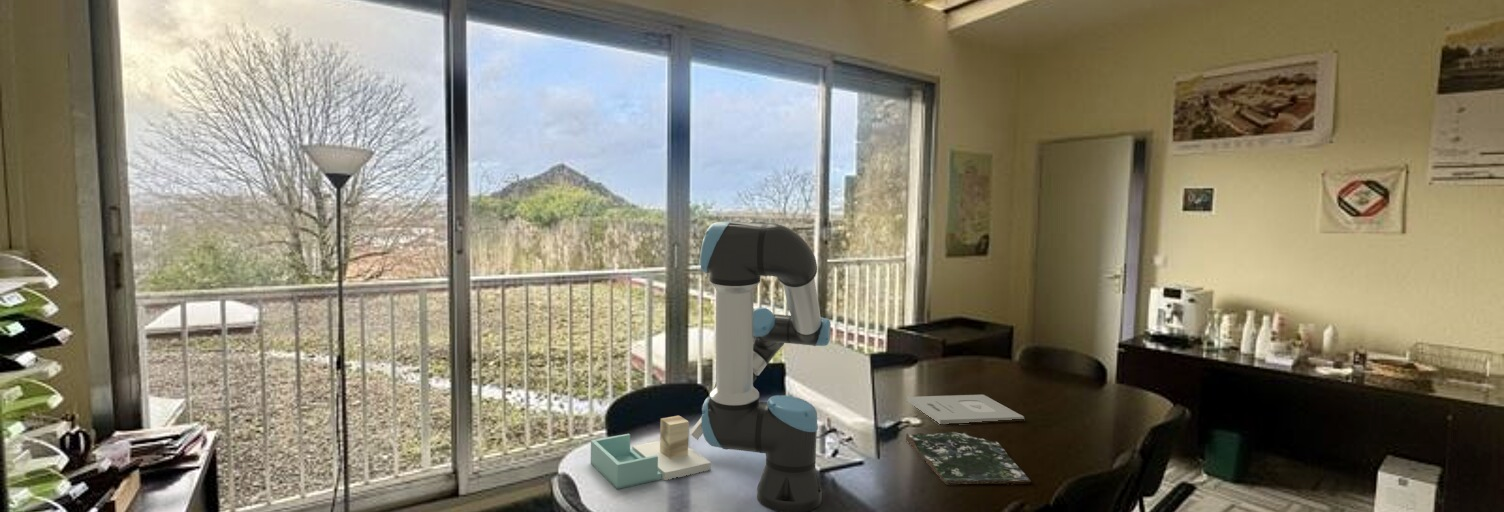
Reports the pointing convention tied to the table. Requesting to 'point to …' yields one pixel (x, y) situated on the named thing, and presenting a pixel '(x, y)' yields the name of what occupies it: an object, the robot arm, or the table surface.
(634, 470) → the box
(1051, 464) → the table surface
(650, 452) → the cream board
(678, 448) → the maple block
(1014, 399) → the table surface
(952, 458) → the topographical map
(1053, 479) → the table surface
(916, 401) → the award plaque
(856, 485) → the table surface
